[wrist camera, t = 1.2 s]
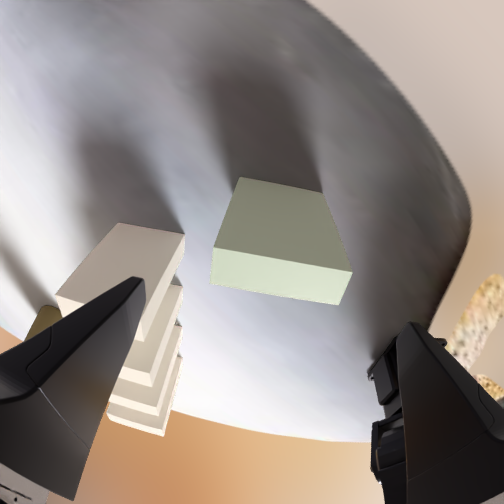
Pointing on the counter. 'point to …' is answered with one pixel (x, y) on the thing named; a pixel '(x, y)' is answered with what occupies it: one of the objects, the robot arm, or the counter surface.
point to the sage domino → (280, 244)
